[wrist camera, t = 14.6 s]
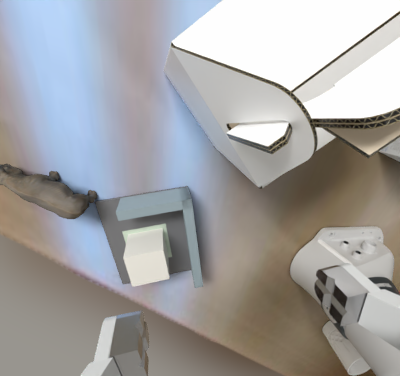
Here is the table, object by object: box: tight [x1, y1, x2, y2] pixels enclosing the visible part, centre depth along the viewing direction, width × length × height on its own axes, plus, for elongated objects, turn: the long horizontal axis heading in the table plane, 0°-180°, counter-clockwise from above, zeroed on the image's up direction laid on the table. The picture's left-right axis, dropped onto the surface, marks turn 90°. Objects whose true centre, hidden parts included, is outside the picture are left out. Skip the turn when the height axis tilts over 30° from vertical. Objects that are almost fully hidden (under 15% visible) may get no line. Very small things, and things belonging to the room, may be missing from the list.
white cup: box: [322, 320, 371, 375], centre depth 57 cm, size 8×8×10 cm
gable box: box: [164, 0, 400, 188], centre depth 19 cm, size 22×13×28 cm, turn 125°
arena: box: [95, 186, 203, 288], centre depth 37 cm, size 15×18×5 cm
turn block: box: [123, 228, 170, 287], centre depth 37 cm, size 6×6×6 cm
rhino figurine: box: [0, 164, 97, 219], centre depth 30 cm, size 4×14×6 cm, turn 56°
